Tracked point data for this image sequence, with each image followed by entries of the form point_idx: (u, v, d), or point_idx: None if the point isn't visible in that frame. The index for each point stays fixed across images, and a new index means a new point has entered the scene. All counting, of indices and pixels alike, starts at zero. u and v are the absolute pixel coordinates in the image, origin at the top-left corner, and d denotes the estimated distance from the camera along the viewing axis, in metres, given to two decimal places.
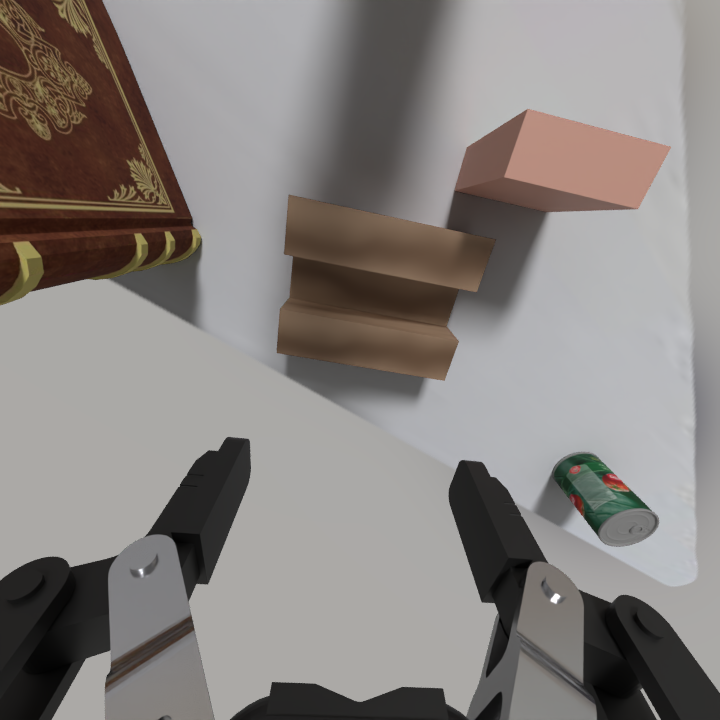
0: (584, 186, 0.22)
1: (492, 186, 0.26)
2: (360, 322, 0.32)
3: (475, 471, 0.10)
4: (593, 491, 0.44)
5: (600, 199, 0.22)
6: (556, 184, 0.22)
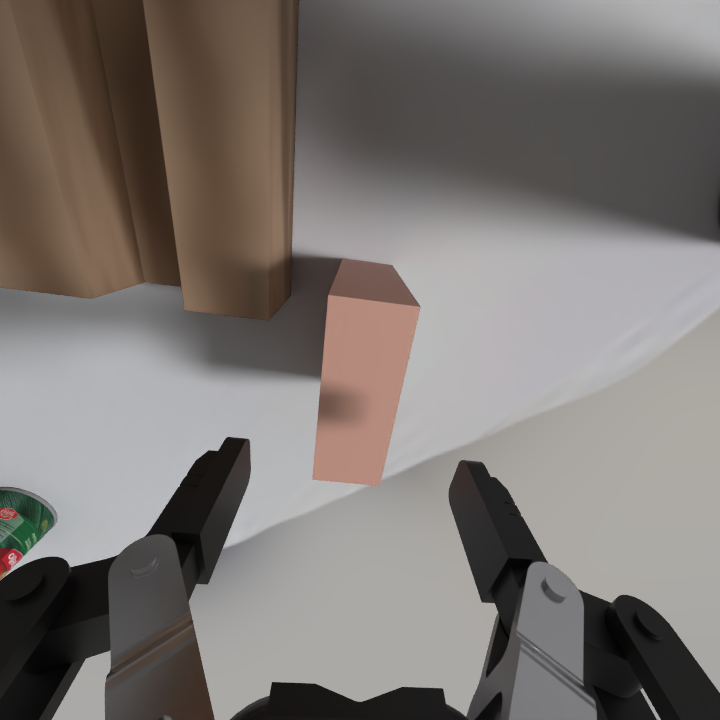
0: (330, 413, 0.15)
1: None
2: (30, 52, 0.13)
3: (475, 471, 0.10)
4: None
5: (317, 437, 0.16)
6: (327, 377, 0.14)
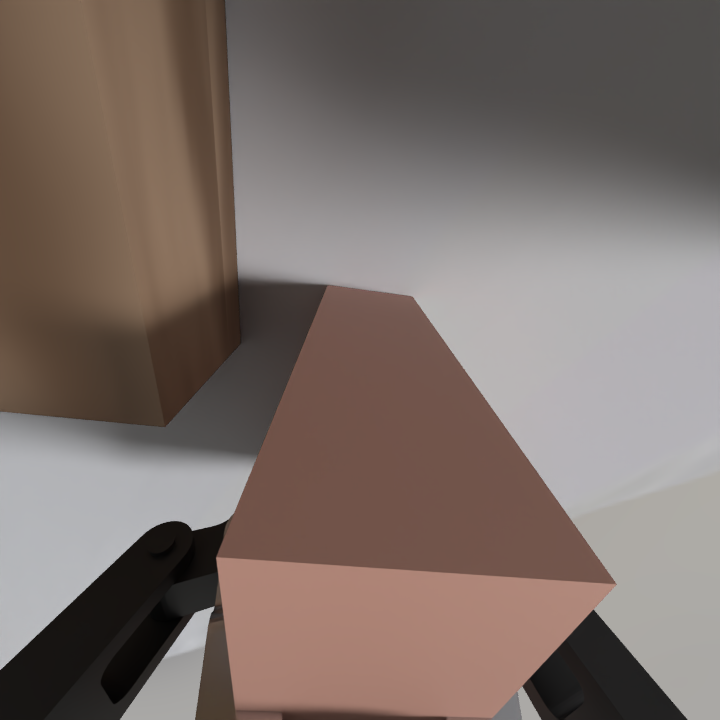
0: None
1: None
2: None
3: None
4: None
5: None
6: None
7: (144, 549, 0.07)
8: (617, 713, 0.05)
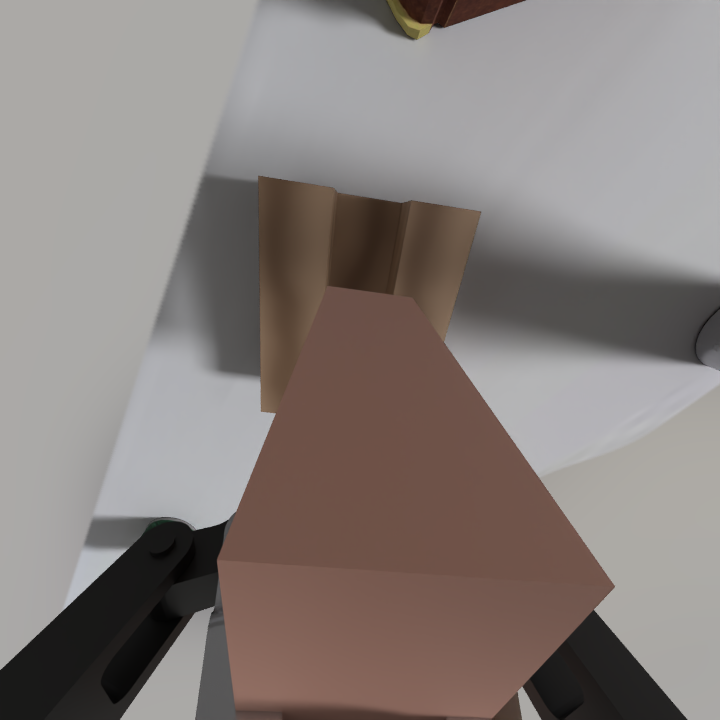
0: None
1: None
2: None
3: None
4: None
5: None
6: None
7: (144, 549, 0.07)
8: (617, 712, 0.05)
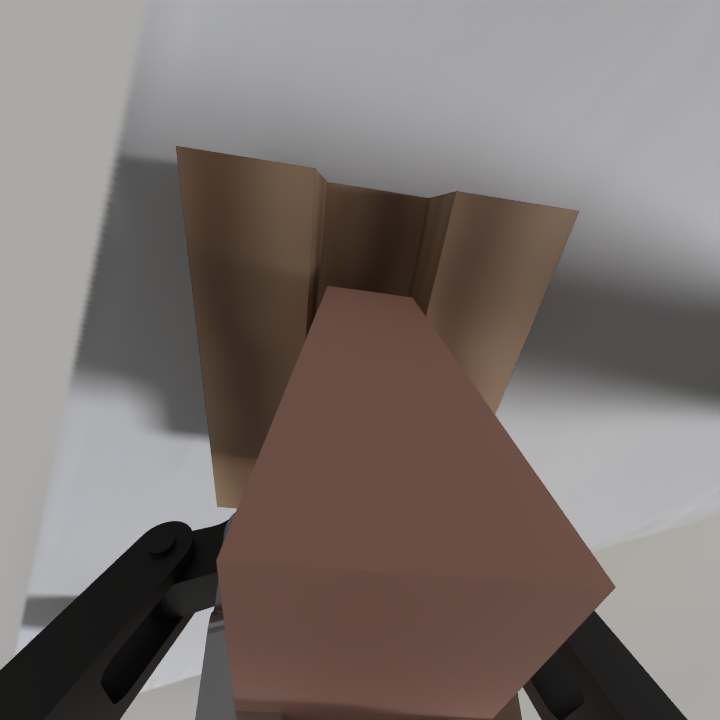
0: None
1: None
2: None
3: None
4: None
5: None
6: None
7: (144, 549, 0.07)
8: (617, 713, 0.05)
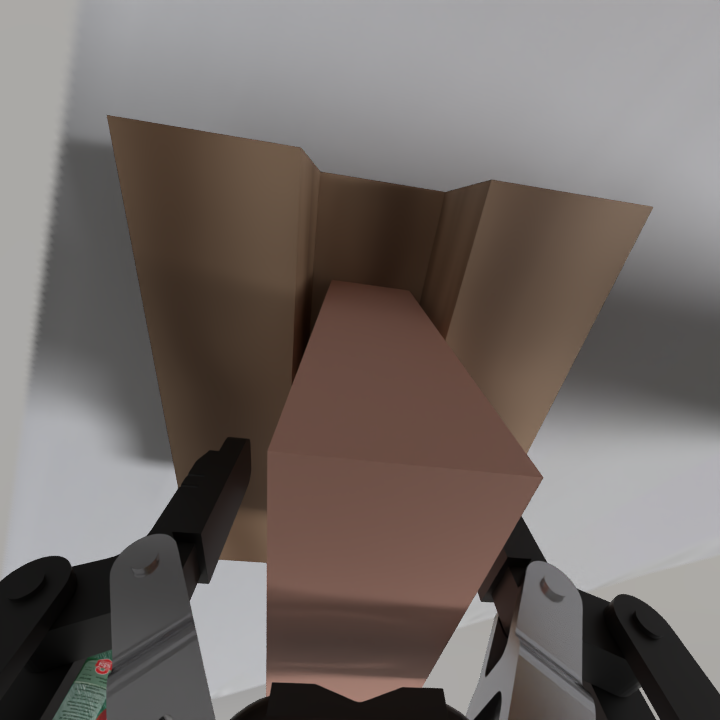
0: (293, 654, 0.07)
1: None
2: None
3: None
4: None
5: None
6: (282, 605, 0.06)
7: (0, 600, 0.05)
8: None
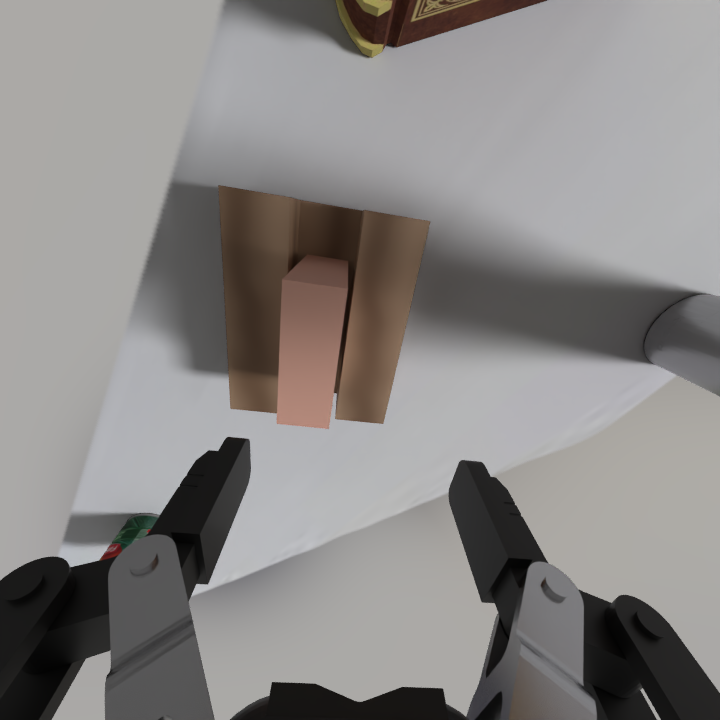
0: (287, 369, 0.20)
1: None
2: None
3: (475, 471, 0.10)
4: None
5: (278, 388, 0.21)
6: (284, 341, 0.19)
7: None
8: None
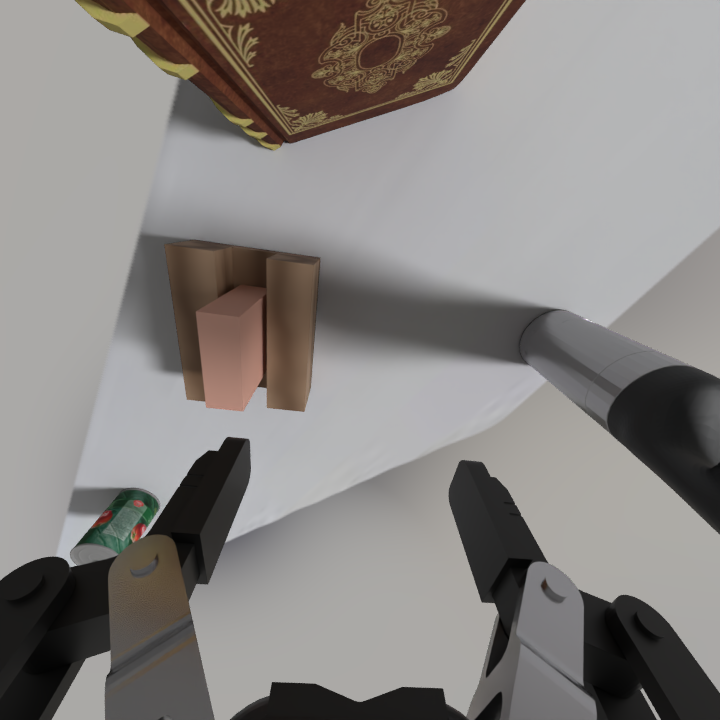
0: (208, 369, 0.30)
1: None
2: None
3: (475, 471, 0.10)
4: (122, 523, 0.51)
5: (204, 382, 0.31)
6: (203, 350, 0.29)
7: None
8: None
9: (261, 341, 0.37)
